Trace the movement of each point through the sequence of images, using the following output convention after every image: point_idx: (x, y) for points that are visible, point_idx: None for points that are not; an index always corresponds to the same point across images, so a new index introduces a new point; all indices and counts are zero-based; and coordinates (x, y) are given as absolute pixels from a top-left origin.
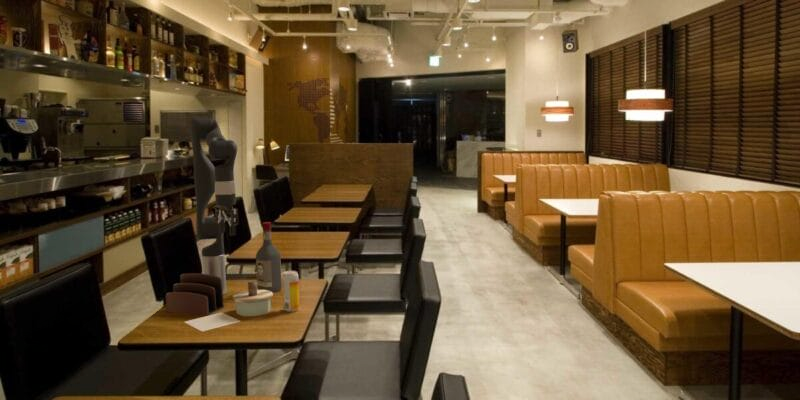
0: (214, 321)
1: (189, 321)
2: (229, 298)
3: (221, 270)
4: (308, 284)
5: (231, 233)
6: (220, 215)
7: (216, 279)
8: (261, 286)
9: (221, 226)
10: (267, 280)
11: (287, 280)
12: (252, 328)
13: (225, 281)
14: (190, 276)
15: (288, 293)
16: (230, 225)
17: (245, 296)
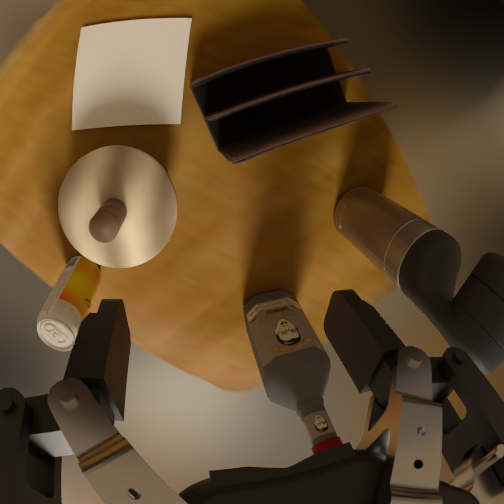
0: (122, 74)
1: (181, 28)
2: (295, 213)
3: (369, 248)
4: (238, 372)
5: (100, 318)
6: (392, 469)
7: (249, 150)
8: (272, 300)
9: (361, 344)
10: (256, 319)
11: (44, 306)
12: (25, 136)
13: (353, 244)
14: (361, 112)
15: (56, 283)
16: (58, 385)
17: (113, 185)
